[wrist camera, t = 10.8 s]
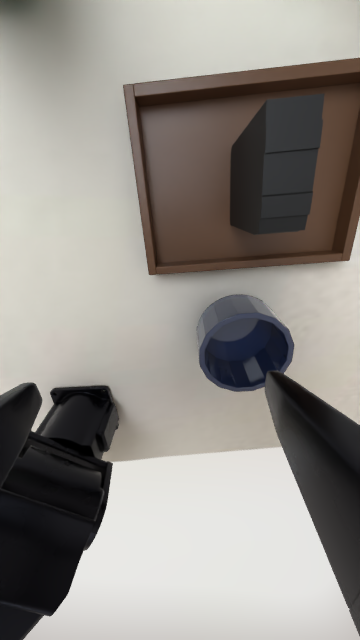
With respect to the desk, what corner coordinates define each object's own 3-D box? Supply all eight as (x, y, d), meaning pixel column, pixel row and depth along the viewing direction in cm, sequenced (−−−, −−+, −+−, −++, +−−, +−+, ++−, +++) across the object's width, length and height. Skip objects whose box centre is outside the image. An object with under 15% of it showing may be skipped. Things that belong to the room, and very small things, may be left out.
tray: (152, 268, 20) (148, 275, 18) (130, 99, 15) (122, 84, 13) (333, 255, 19) (349, 260, 17) (370, 73, 15) (397, 52, 13)
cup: (198, 364, 24) (201, 393, 21) (195, 297, 21) (197, 316, 17) (271, 360, 24) (287, 389, 20) (279, 291, 21) (299, 310, 17)
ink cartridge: (259, 223, 18) (309, 233, 11) (229, 225, 18) (259, 237, 11) (264, 144, 16) (332, 89, 9) (230, 147, 16) (268, 96, 9)
